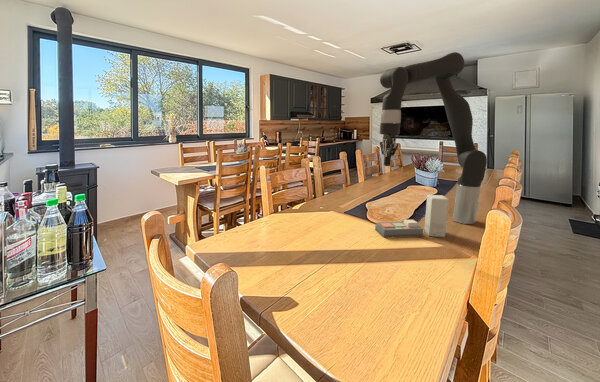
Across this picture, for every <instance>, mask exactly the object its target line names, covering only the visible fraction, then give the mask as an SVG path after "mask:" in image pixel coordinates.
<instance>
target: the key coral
mask: <svg viewBox="0 0 600 382" xmlns="http://www.w3.org/2000/svg"><path fill="white" fill-rule="evenodd" d="M380 225H381V226H382V227H383V228H394V226H393V225H392V224H390V223H380Z"/></svg>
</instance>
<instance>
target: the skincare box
mask: <svg viewBox="0 0 600 382" xmlns="http://www.w3.org/2000/svg"><path fill="white" fill-rule="evenodd" d="M449 202H450V199H449V198H448V197H446V196H444V195H441V194H439V195H438V194H427V196H426V205H425V216H424V217H425V219H424V228H423V230H424V231H425V233H426V234H427V236H428V237H436V238H446V232H447V231H446V230H447V221H448V212H449Z"/></svg>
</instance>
